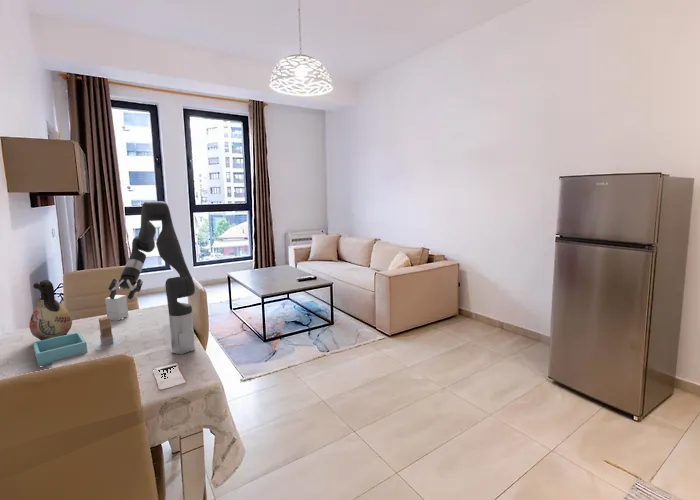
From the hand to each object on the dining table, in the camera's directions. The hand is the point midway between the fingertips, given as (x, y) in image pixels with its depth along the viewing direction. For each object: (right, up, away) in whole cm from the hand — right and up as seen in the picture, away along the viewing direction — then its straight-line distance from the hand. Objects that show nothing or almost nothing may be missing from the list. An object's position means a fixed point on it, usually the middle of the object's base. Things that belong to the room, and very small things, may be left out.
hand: (120, 298), depth 169 cm
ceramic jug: (-31, -20, -1) cm, 36 cm away
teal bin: (-14, -22, -17) cm, 31 cm away
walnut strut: (0, -19, -9) cm, 21 cm away
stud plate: (0, -21, -9) cm, 23 cm away
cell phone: (+41, -25, -35) cm, 60 cm away
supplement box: (-20, -15, +28) cm, 37 cm away
